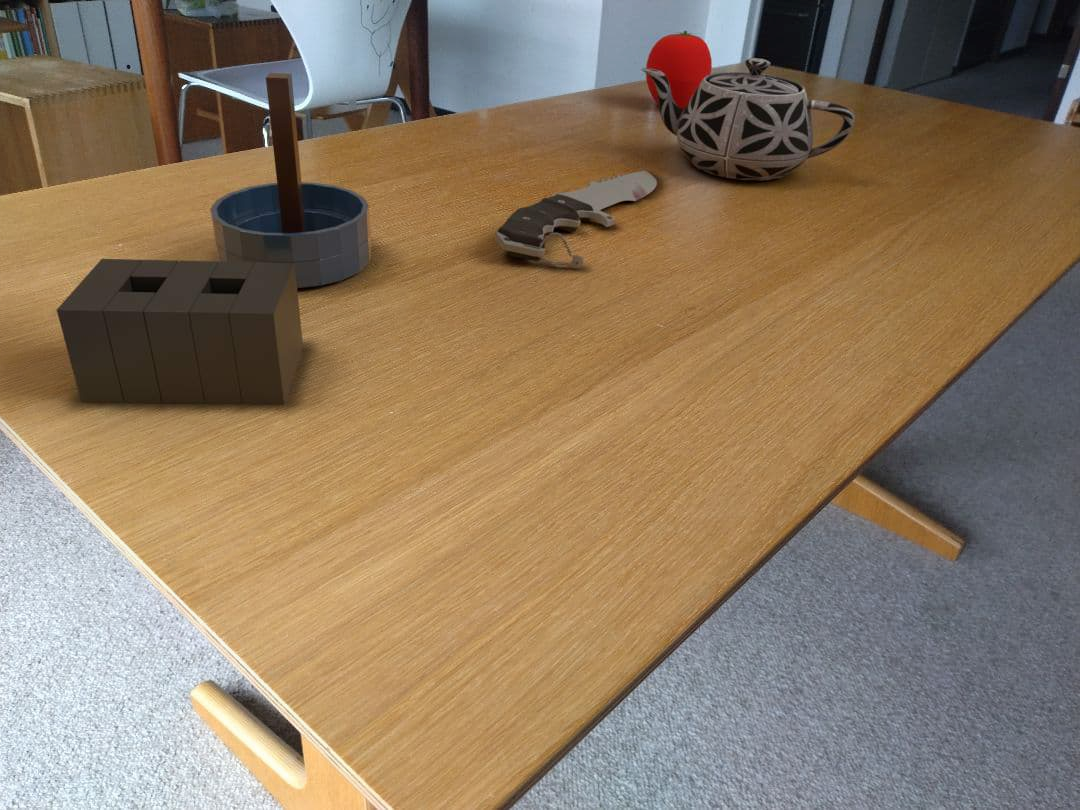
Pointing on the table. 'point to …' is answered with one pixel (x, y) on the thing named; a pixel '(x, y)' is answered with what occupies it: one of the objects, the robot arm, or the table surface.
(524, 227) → the knife
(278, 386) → the holder
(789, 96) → the teapot
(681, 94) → the tomato
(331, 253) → the bowl
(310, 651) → the table surface
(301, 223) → the stick
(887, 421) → the table surface
